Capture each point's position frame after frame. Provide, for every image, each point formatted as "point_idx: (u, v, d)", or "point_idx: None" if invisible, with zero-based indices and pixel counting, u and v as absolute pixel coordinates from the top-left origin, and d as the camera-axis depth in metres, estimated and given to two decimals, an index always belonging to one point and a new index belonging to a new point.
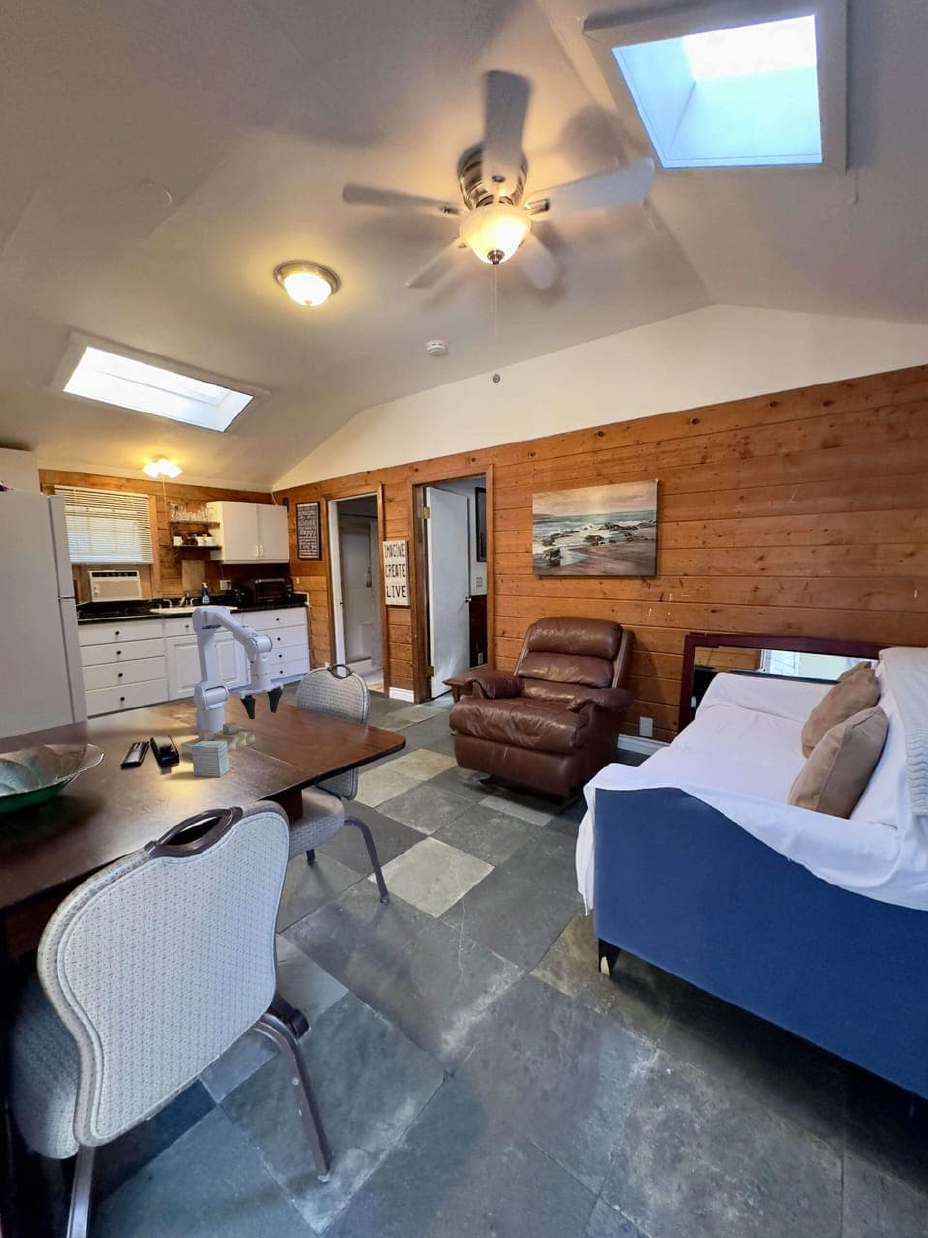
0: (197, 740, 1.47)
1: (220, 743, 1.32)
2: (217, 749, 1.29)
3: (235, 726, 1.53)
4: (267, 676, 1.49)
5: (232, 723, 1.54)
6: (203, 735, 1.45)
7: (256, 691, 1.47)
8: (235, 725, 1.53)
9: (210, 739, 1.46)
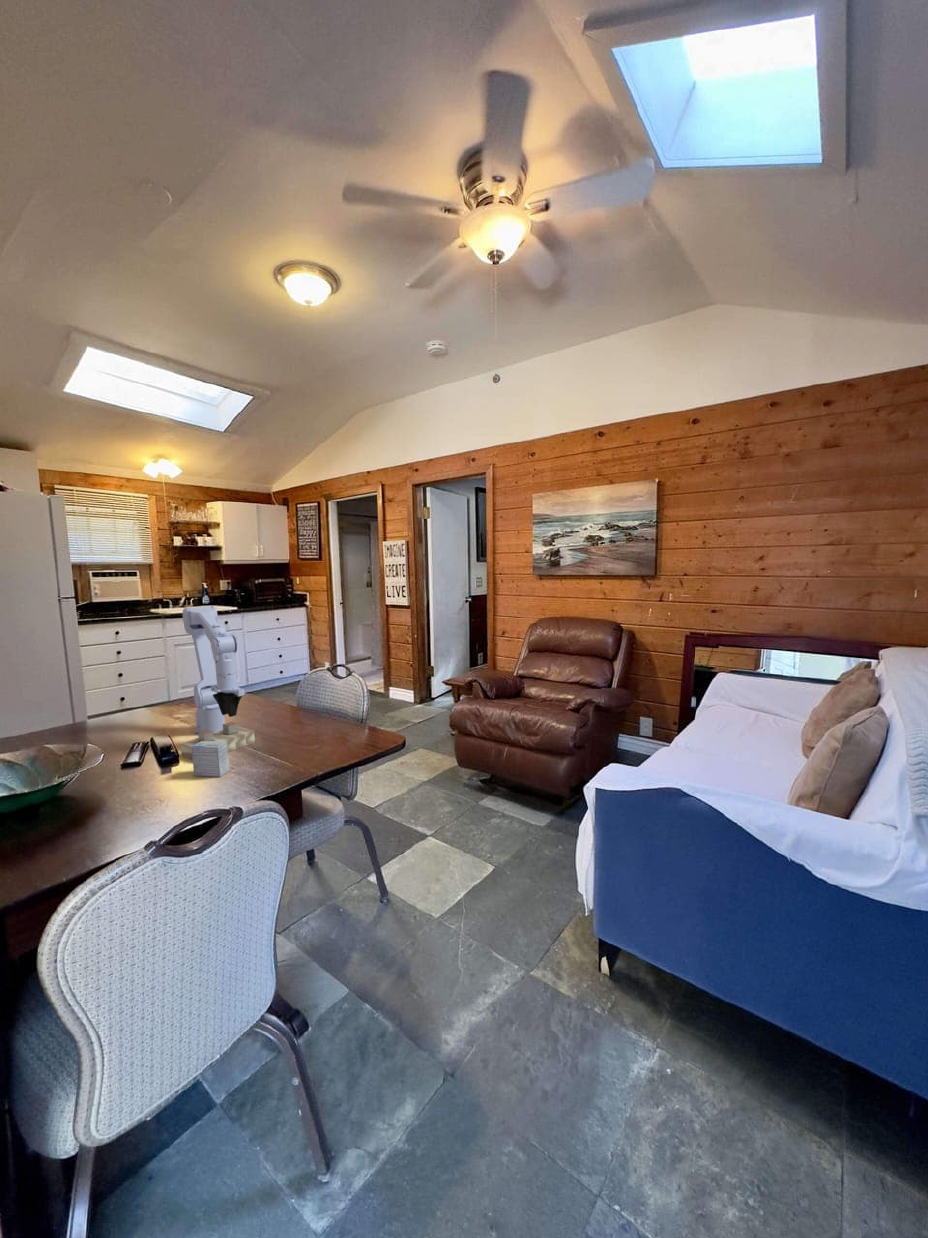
0: (197, 740, 1.47)
1: (220, 743, 1.32)
2: (217, 749, 1.29)
3: (235, 726, 1.53)
4: (219, 677, 1.49)
5: (232, 723, 1.54)
6: (203, 735, 1.45)
7: (215, 688, 1.52)
8: (235, 725, 1.53)
9: (210, 739, 1.46)
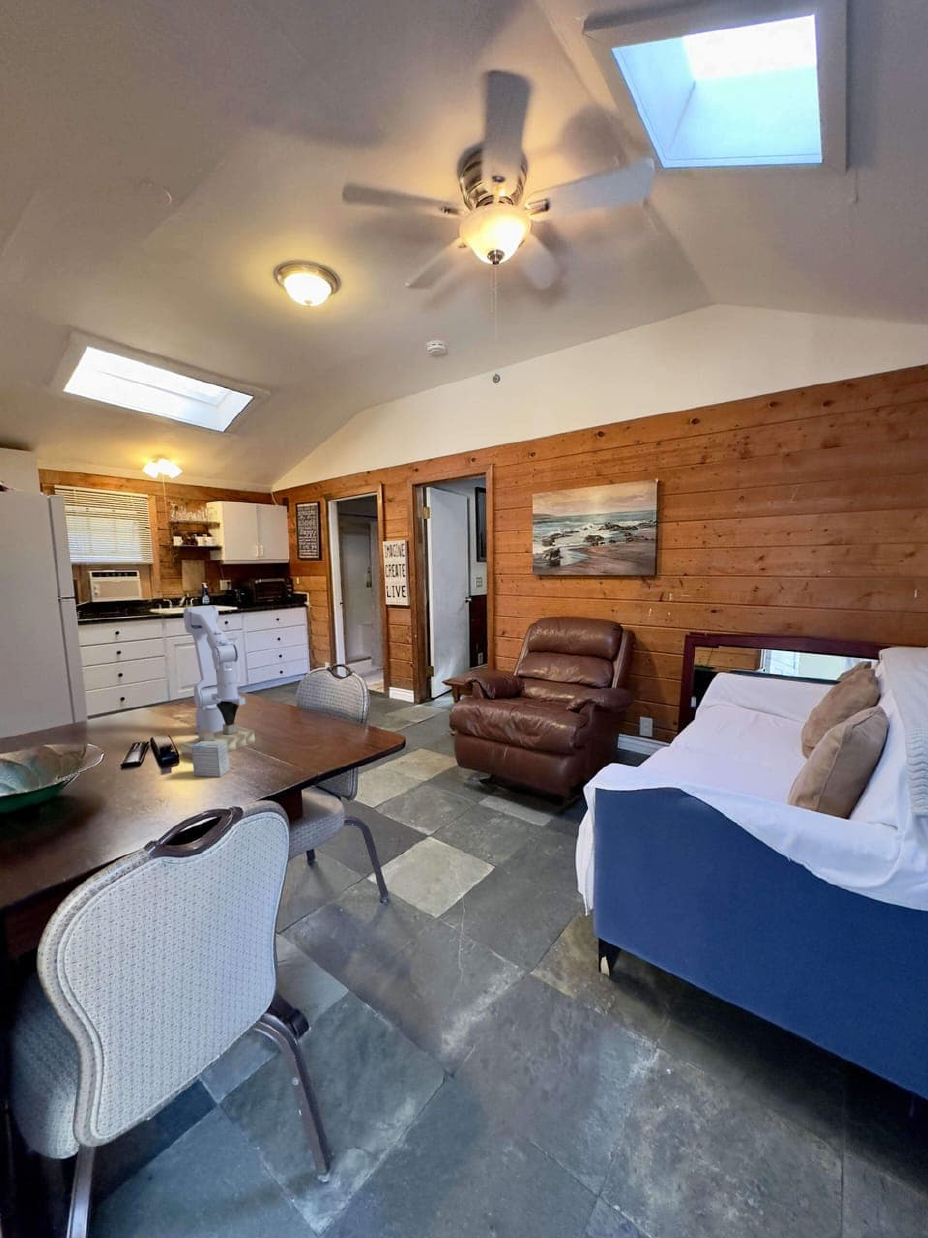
0: (197, 740, 1.47)
1: (220, 743, 1.32)
2: (217, 749, 1.29)
3: (235, 726, 1.53)
4: (220, 686, 1.49)
5: None
6: (203, 735, 1.45)
7: (215, 697, 1.52)
8: (235, 725, 1.53)
9: (210, 739, 1.46)
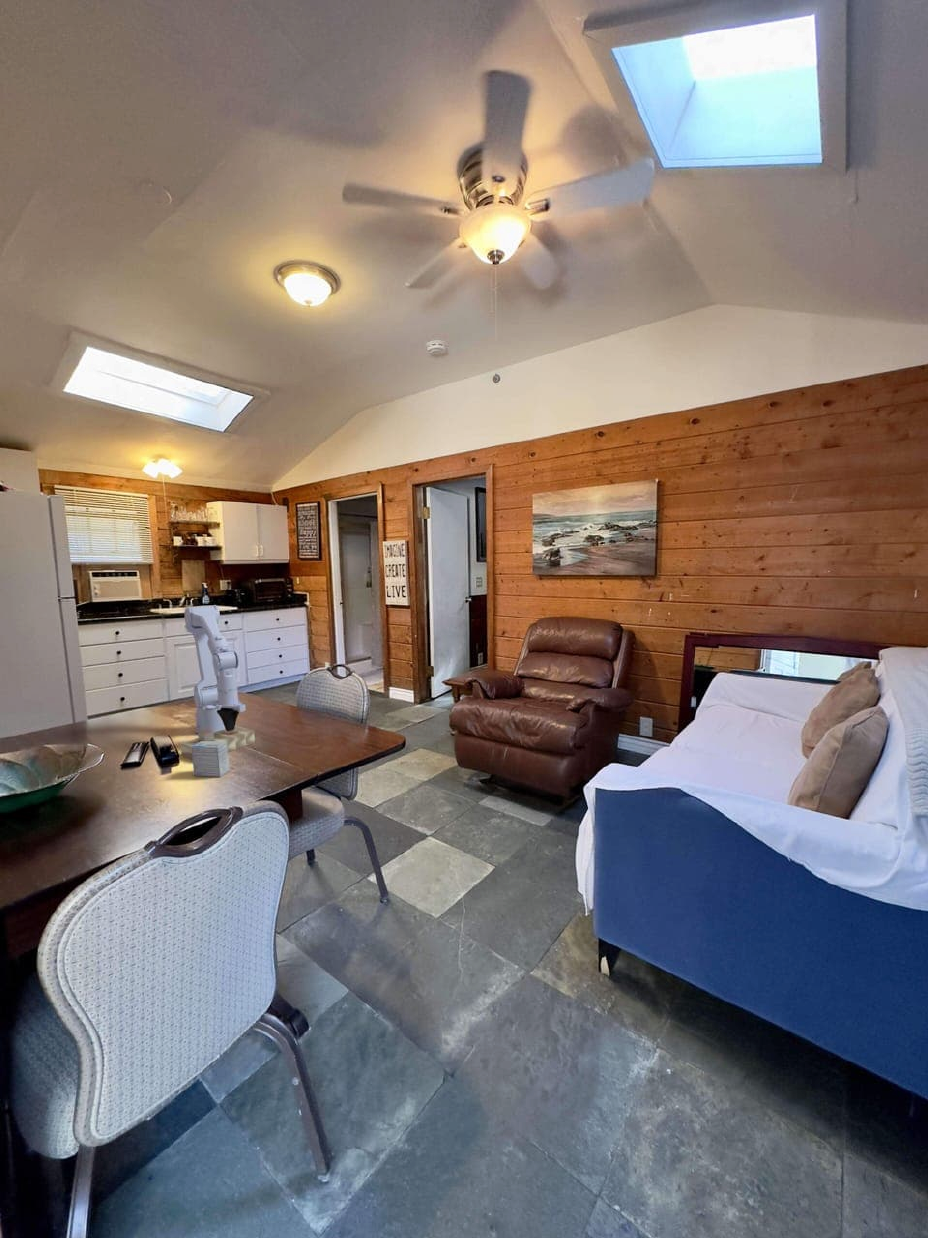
0: (197, 740, 1.47)
1: (220, 743, 1.32)
2: (217, 749, 1.29)
3: None
4: (220, 693, 1.49)
5: (233, 731, 1.54)
6: (203, 735, 1.45)
7: (216, 703, 1.52)
8: None
9: (210, 739, 1.46)
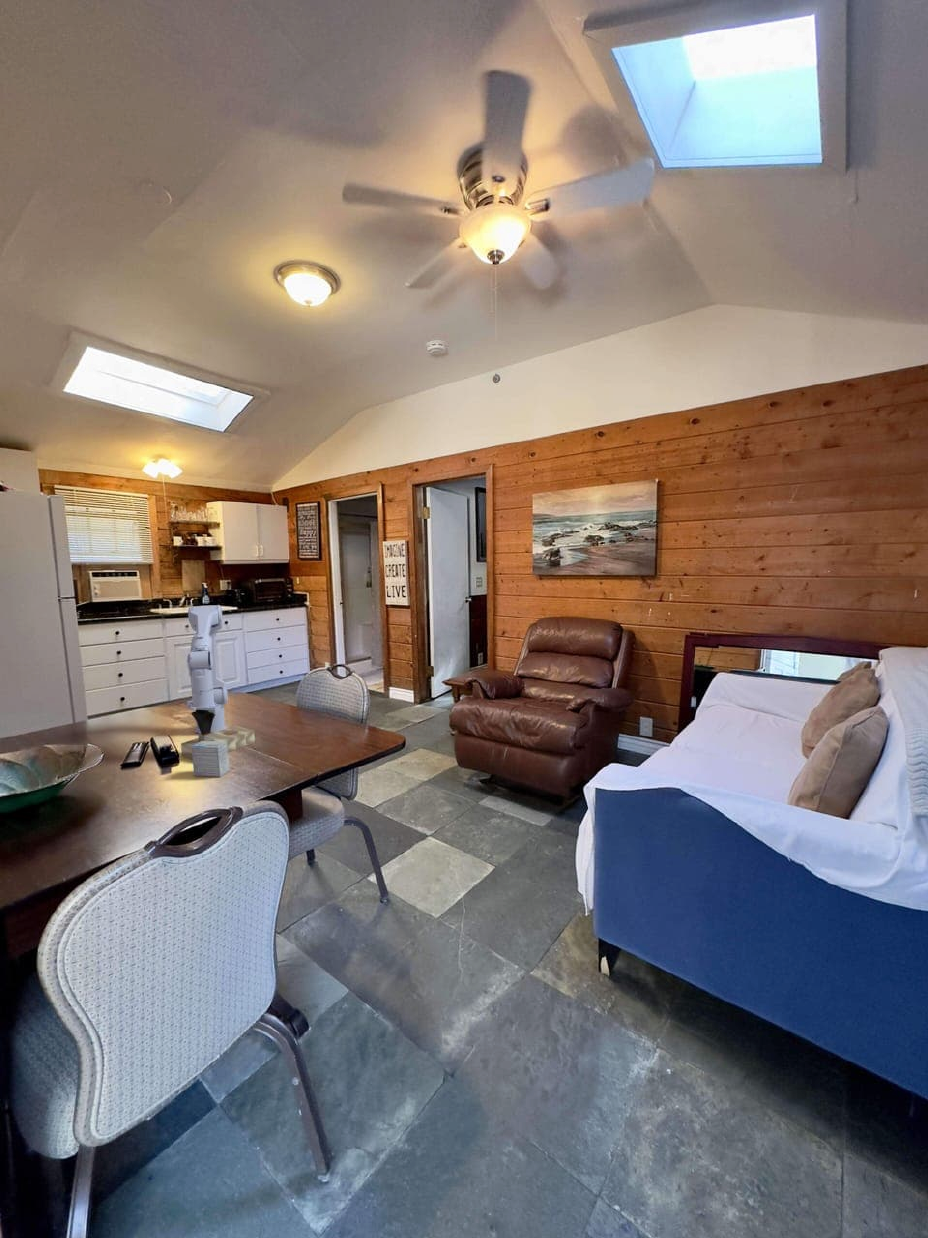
0: (197, 740, 1.47)
1: (220, 743, 1.32)
2: (217, 749, 1.29)
3: None
4: (194, 694, 1.42)
5: (233, 731, 1.54)
6: (203, 737, 1.45)
7: (191, 705, 1.45)
8: None
9: None
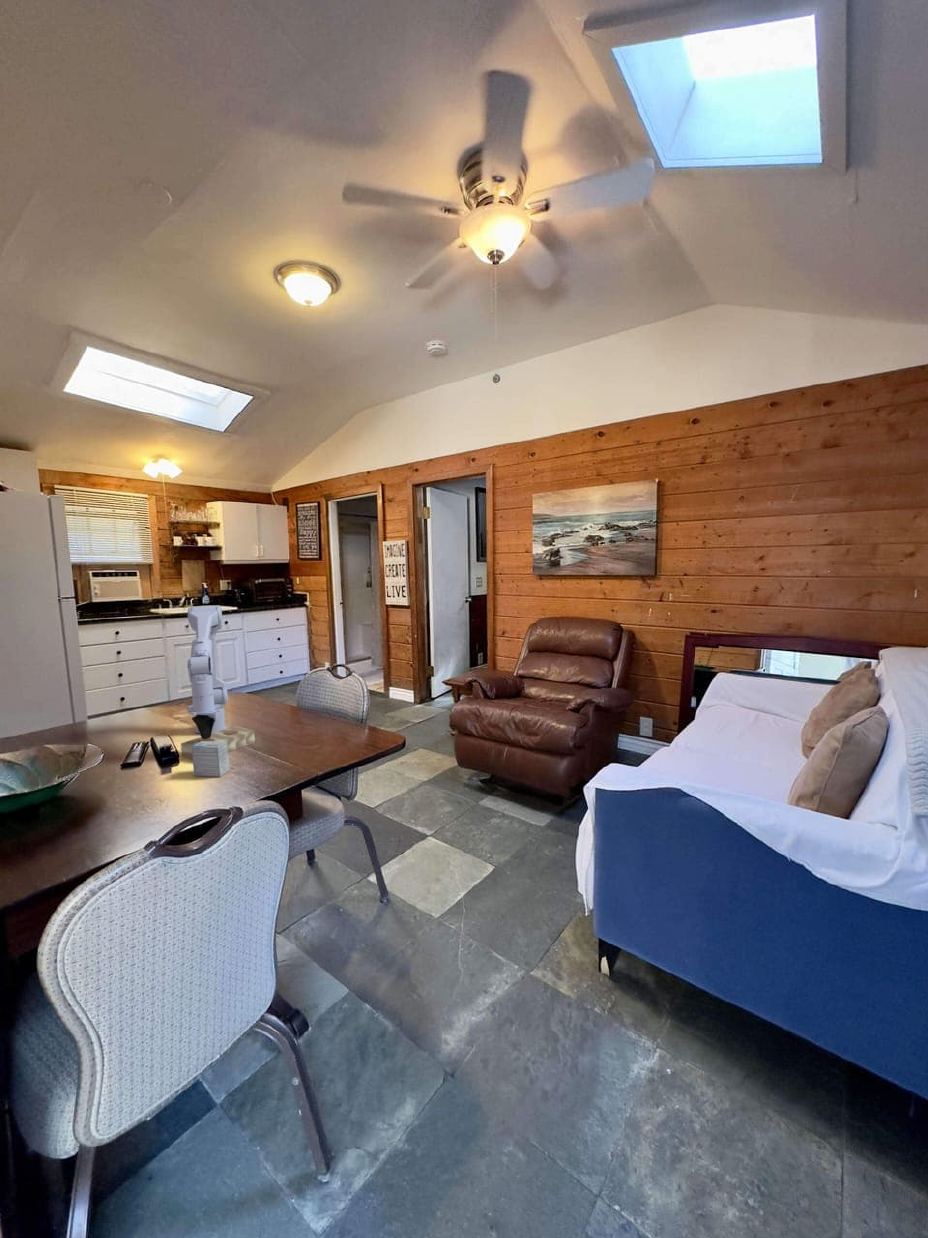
0: (197, 740, 1.47)
1: (220, 743, 1.32)
2: (217, 749, 1.29)
3: None
4: (195, 699, 1.43)
5: (233, 731, 1.54)
6: None
7: (191, 710, 1.45)
8: None
9: None
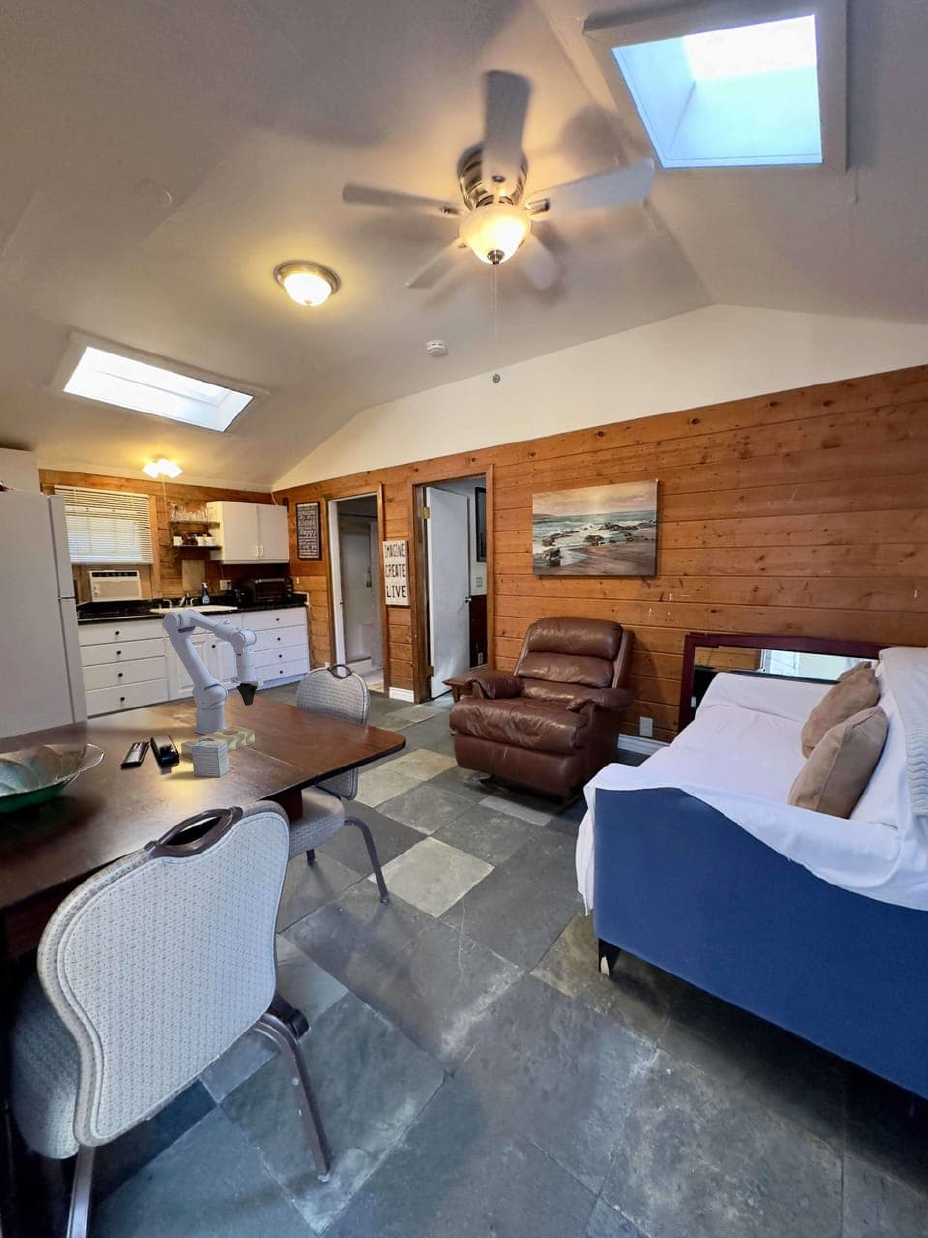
0: (197, 740, 1.47)
1: (220, 743, 1.32)
2: (217, 749, 1.29)
3: None
4: (239, 669, 1.58)
5: (233, 731, 1.54)
6: None
7: (235, 680, 1.61)
8: None
9: None
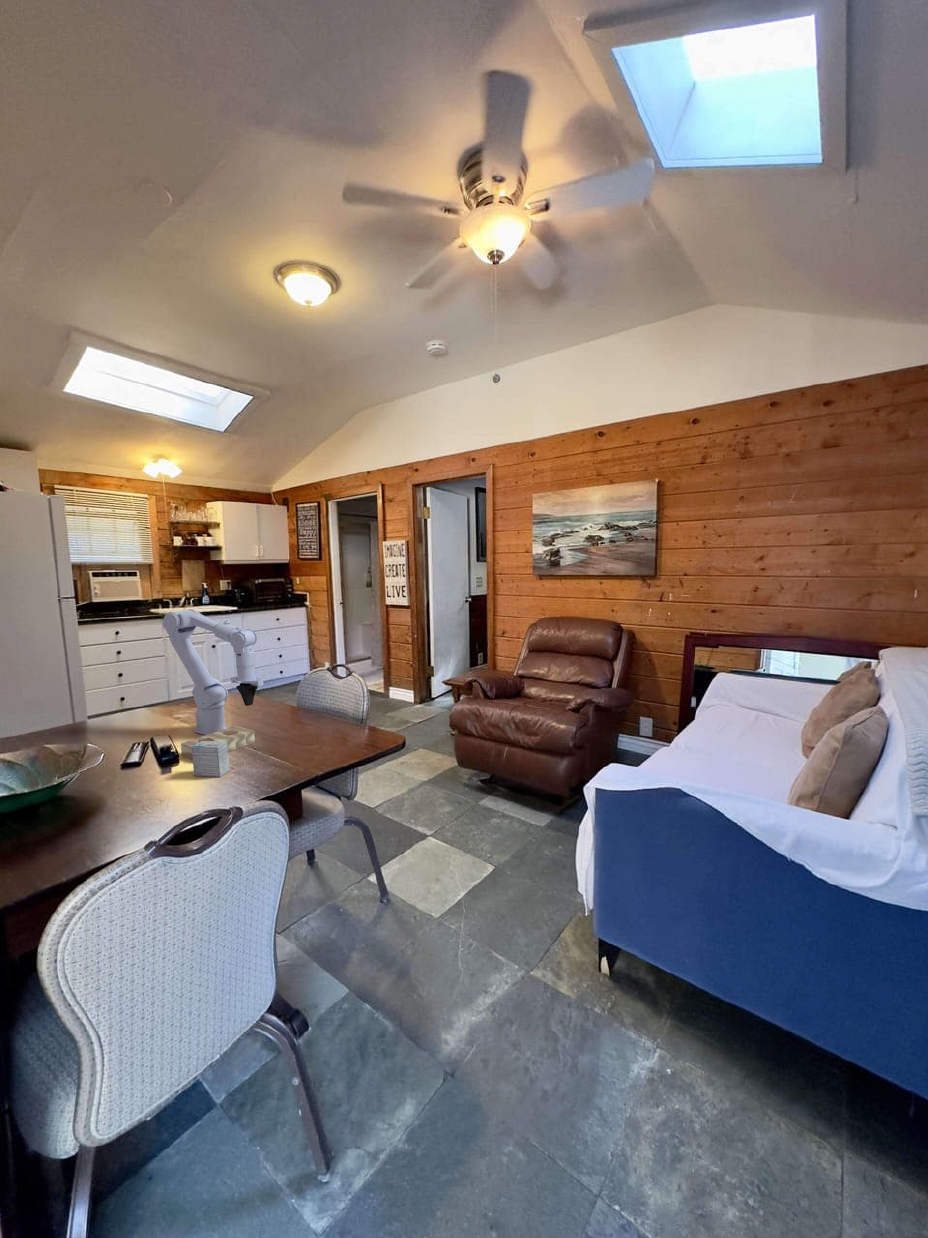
0: (197, 740, 1.47)
1: (220, 743, 1.32)
2: (217, 749, 1.29)
3: None
4: (239, 669, 1.58)
5: (233, 731, 1.54)
6: None
7: (235, 680, 1.61)
8: None
9: None
